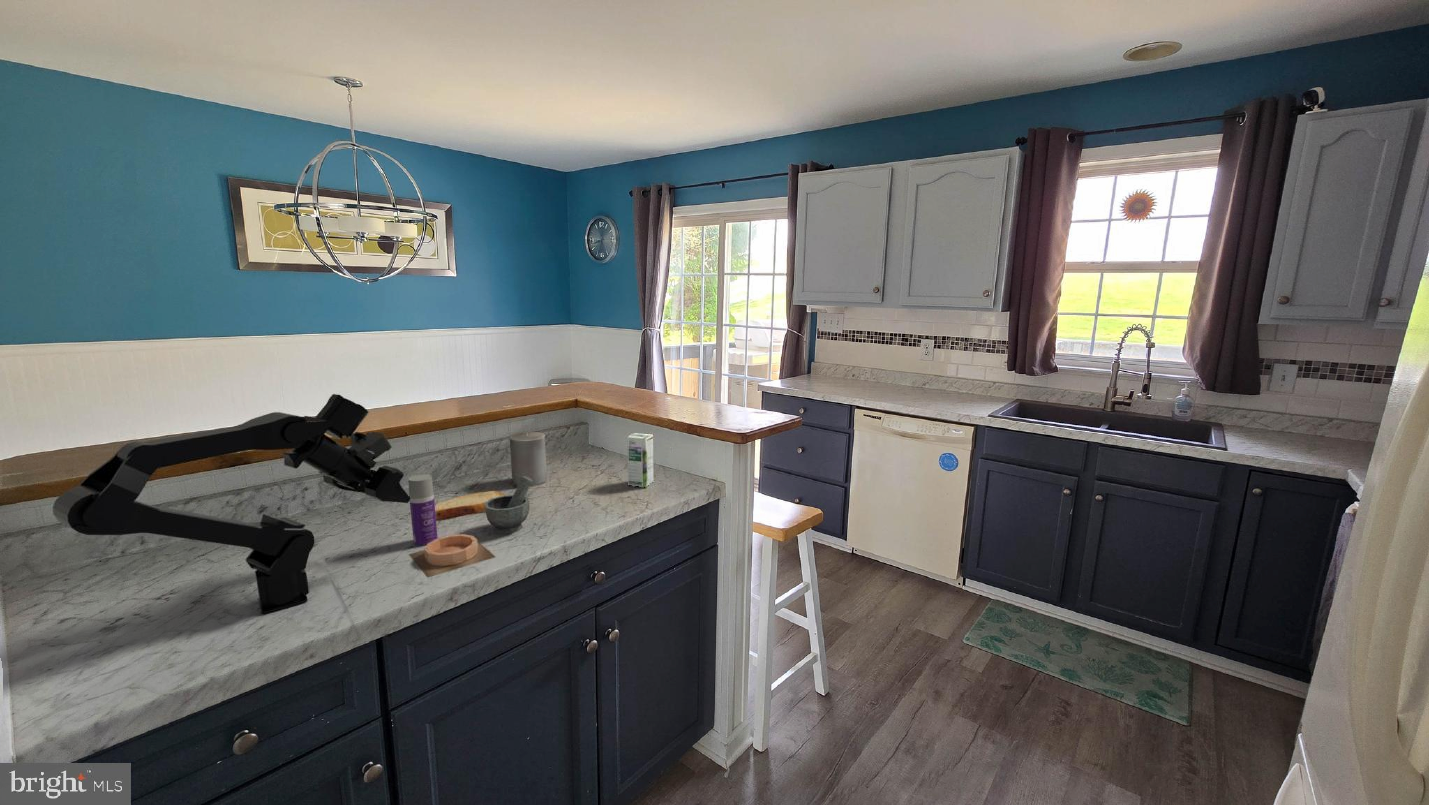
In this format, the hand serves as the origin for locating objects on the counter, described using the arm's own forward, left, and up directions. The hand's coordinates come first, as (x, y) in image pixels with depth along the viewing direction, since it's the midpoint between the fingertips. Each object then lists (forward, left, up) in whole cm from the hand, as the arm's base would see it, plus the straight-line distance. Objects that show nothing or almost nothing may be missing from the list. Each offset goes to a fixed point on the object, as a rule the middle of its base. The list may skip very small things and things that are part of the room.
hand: (395, 496), depth 118 cm
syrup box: (+63, +4, -13) cm, 65 cm away
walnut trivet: (+7, -9, -12) cm, 17 cm away
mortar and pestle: (+22, -3, -13) cm, 26 cm away
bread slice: (+19, +16, -13) cm, 28 cm away
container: (+5, +2, -13) cm, 14 cm away
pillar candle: (+40, +27, -13) cm, 50 cm away
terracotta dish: (+7, -9, -12) cm, 17 cm away
